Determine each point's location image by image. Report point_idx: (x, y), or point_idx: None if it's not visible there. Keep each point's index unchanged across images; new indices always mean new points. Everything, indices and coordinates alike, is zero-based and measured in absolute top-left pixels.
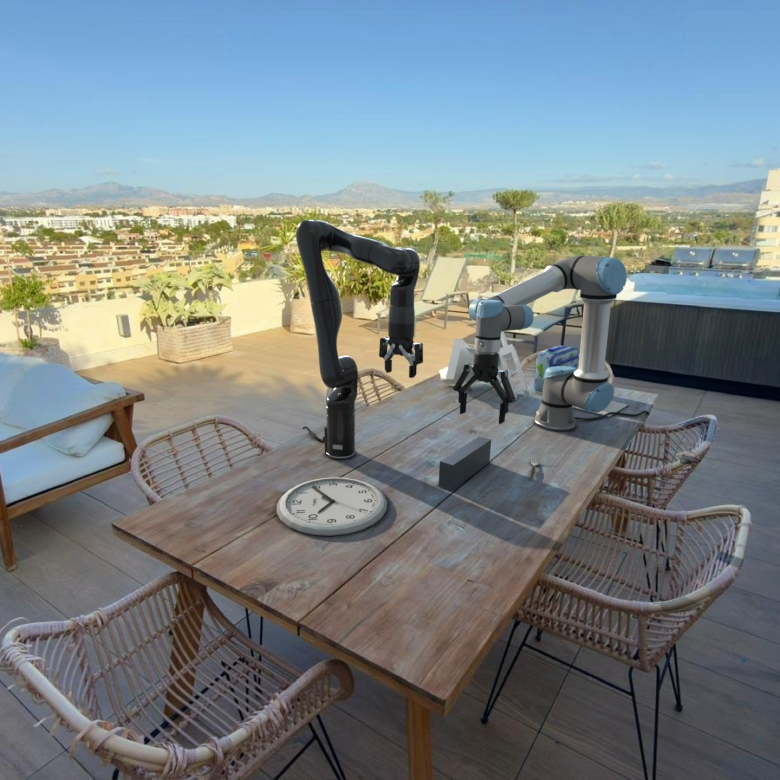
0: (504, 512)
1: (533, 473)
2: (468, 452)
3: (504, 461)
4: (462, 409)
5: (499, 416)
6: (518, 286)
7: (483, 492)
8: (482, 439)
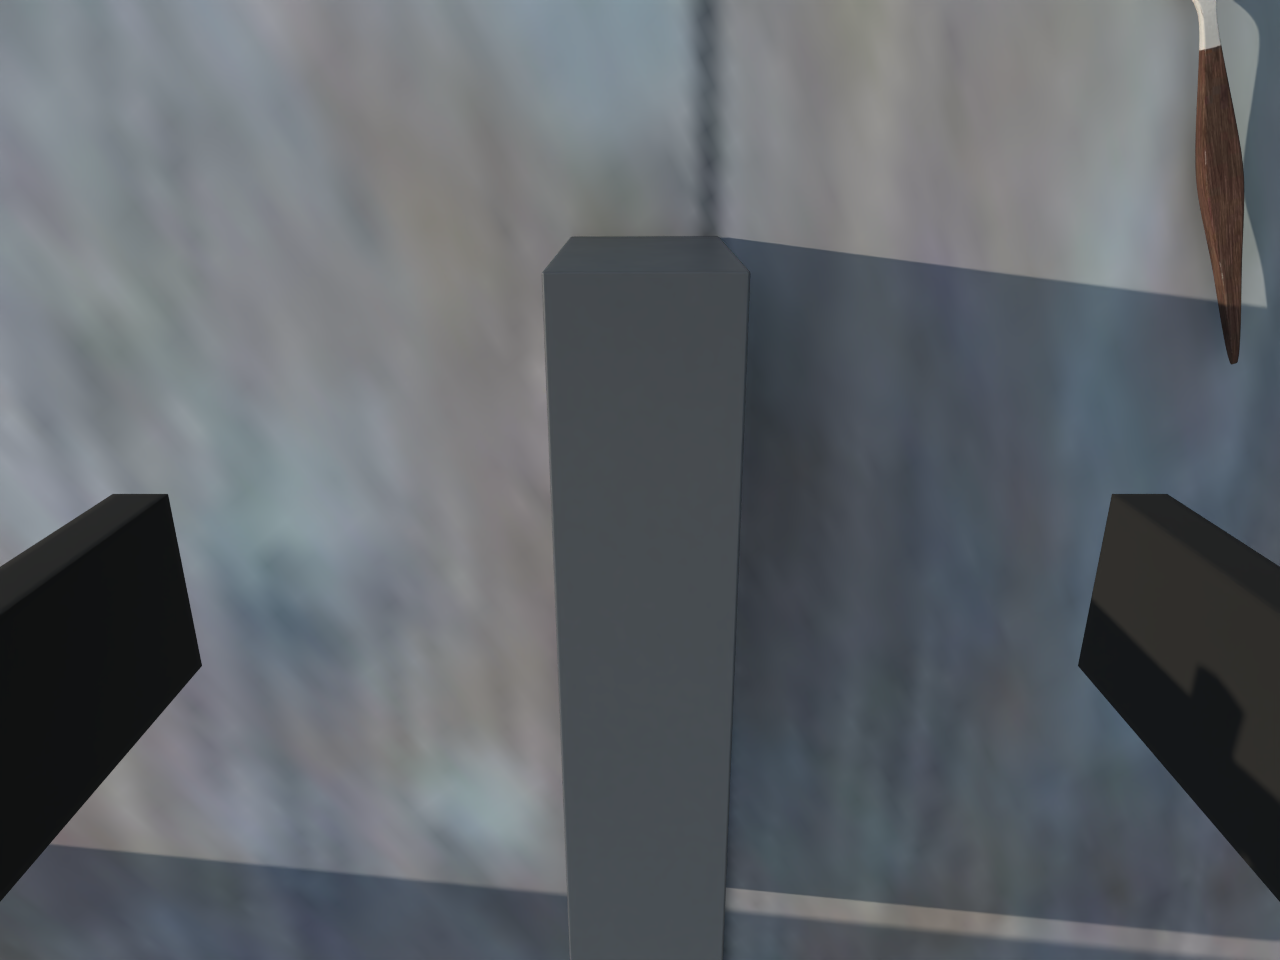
0: (1134, 902)
1: (1241, 249)
2: (696, 793)
3: (844, 89)
4: (141, 708)
5: (1176, 770)
6: None
7: (911, 769)
8: (643, 353)
